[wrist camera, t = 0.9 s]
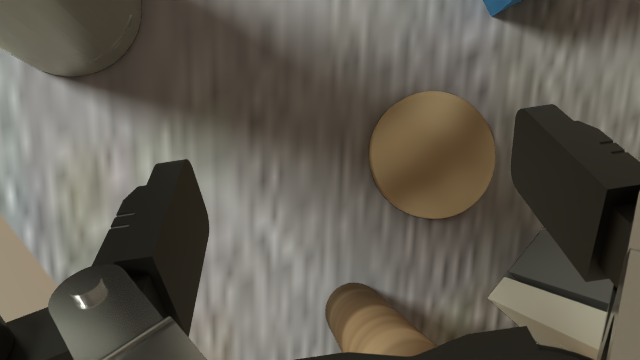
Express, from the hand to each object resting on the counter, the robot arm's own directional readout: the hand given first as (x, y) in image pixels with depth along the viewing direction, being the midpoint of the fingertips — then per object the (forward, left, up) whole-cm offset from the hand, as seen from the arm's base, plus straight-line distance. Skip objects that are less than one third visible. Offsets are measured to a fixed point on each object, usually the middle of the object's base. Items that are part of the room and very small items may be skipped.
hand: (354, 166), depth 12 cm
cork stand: (+6, +8, -22) cm, 24 cm away
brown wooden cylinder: (+9, -4, -22) cm, 24 cm away
